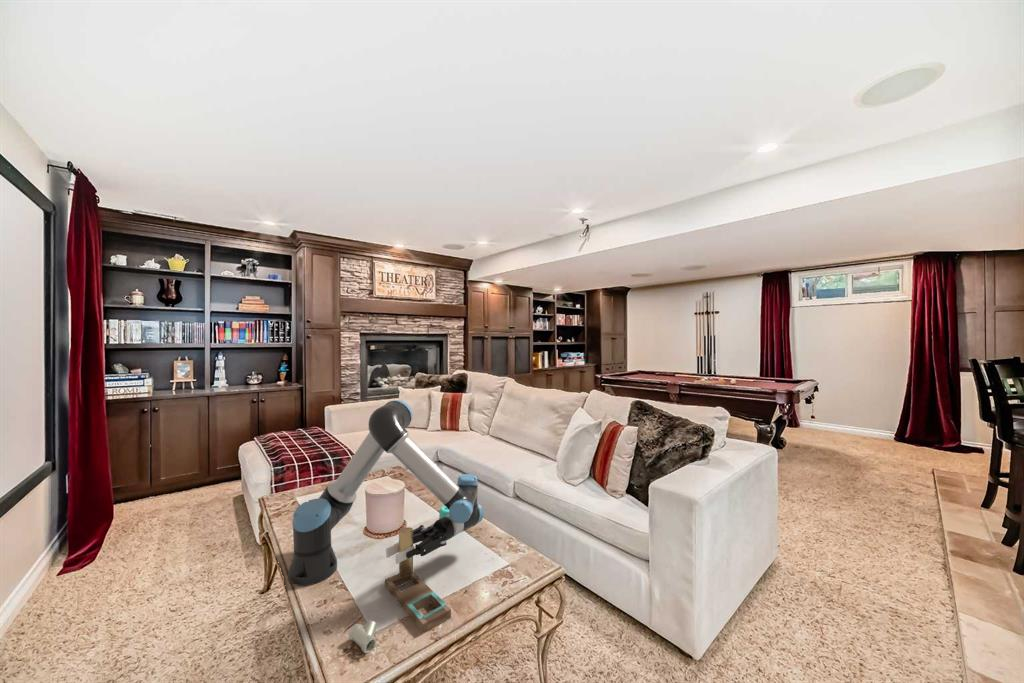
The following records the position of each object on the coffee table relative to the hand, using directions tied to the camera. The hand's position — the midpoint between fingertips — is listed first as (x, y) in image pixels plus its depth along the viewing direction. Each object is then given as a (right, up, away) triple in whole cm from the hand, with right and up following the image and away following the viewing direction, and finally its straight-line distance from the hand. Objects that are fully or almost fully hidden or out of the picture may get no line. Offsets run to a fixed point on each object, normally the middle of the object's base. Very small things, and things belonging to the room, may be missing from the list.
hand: (391, 556), depth 124 cm
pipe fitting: (-2, -15, -16) cm, 22 cm away
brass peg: (+3, -8, +4) cm, 10 cm away
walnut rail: (+8, -14, -1) cm, 16 cm away
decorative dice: (+11, -12, +46) cm, 49 cm away
